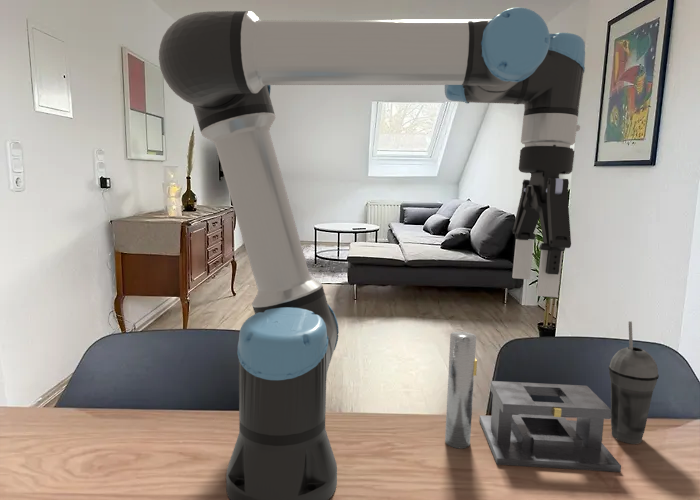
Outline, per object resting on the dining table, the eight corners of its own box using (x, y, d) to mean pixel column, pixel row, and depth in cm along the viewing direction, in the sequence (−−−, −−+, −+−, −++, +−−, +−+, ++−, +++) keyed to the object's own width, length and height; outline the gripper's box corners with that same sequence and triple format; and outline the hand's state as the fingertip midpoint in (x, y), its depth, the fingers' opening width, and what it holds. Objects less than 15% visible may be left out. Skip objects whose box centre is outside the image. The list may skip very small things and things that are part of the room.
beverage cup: (659, 451, 79) (672, 330, 76) (610, 445, 80) (621, 326, 78) (641, 429, 86) (653, 318, 83) (597, 424, 87) (607, 315, 85)
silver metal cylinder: (446, 447, 78) (452, 338, 76) (443, 435, 82) (448, 331, 80) (473, 449, 78) (479, 339, 76) (469, 436, 82) (475, 332, 80)
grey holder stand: (496, 464, 74) (500, 410, 73) (479, 420, 88) (482, 375, 87) (620, 472, 73) (626, 417, 71) (583, 426, 86) (587, 380, 85)
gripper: (611, 139, 60) (591, 307, 63) (546, 153, 85) (533, 273, 88) (549, 136, 61) (531, 303, 64) (502, 151, 85) (491, 271, 88)
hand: (532, 286), depth 76 cm, fingers open, 13 cm apart
